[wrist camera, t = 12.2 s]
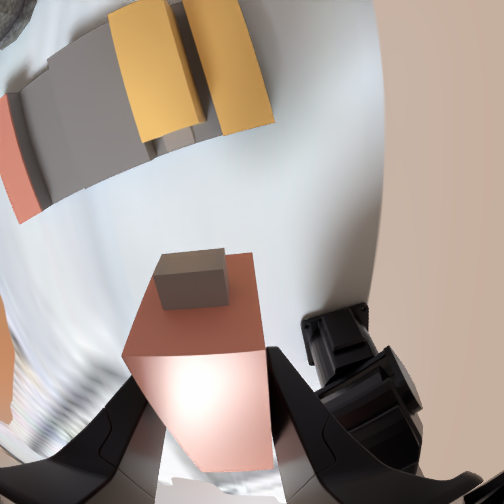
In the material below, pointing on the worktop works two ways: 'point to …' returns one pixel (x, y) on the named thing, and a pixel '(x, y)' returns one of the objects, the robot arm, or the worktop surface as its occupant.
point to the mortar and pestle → (14, 19)
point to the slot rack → (120, 107)
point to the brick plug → (205, 358)
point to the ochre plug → (156, 72)
